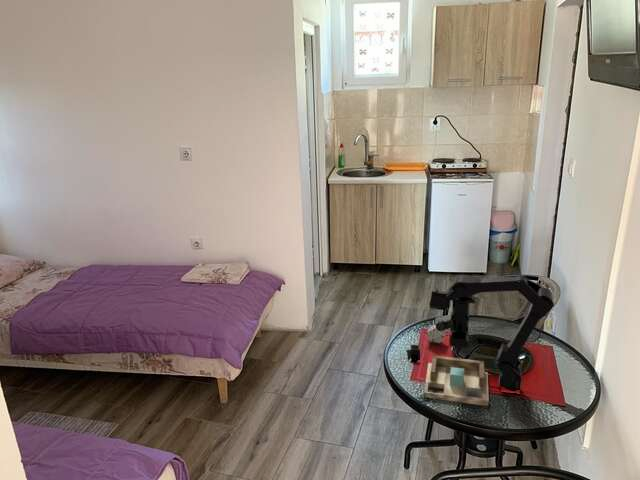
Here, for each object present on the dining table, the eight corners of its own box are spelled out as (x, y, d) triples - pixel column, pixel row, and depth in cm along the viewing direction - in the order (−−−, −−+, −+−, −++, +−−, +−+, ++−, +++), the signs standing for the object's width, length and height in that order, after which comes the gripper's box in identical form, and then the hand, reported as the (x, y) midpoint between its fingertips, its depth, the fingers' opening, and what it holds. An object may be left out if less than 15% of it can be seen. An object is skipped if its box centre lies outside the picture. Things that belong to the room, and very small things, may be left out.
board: (487, 374, 182) (487, 369, 181) (488, 406, 165) (488, 400, 165) (428, 367, 187) (428, 362, 187) (423, 397, 171) (424, 391, 171)
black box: (425, 366, 189) (425, 356, 187) (405, 366, 190) (406, 356, 188) (421, 348, 201) (422, 338, 199) (403, 348, 201) (403, 338, 200)
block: (463, 379, 176) (464, 368, 175) (463, 387, 172) (463, 376, 171) (450, 377, 177) (450, 367, 176) (449, 385, 173) (450, 374, 172)
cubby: (483, 369, 181) (483, 361, 180) (483, 386, 172) (484, 378, 171) (432, 363, 186) (432, 355, 185) (430, 379, 177) (430, 371, 176)
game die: (439, 349, 206) (455, 331, 203) (433, 352, 198) (449, 334, 195) (423, 333, 209) (439, 316, 206) (416, 335, 202) (432, 318, 199)
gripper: (438, 297, 182) (437, 335, 187) (434, 322, 165) (433, 363, 170) (470, 300, 179) (467, 338, 184) (469, 326, 162) (467, 367, 167)
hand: (458, 351), depth 177 cm, fingers closed
